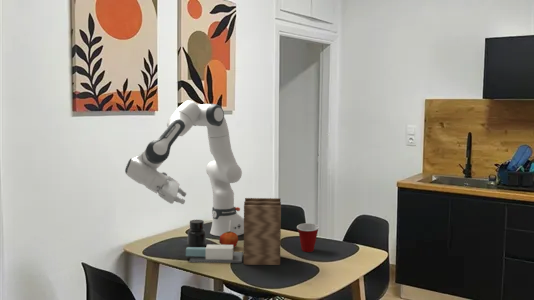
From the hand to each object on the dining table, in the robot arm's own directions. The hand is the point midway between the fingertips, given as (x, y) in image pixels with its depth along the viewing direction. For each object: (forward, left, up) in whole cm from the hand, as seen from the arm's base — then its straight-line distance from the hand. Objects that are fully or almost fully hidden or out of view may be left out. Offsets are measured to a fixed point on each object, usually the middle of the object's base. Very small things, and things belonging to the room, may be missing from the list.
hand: (185, 198), depth 231 cm
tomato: (-23, +2, -27) cm, 35 cm away
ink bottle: (-13, -11, -27) cm, 32 cm away
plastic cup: (-50, +29, -27) cm, 64 cm away
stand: (-24, +26, -27) cm, 44 cm away
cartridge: (-6, +11, -26) cm, 29 cm away
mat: (-10, +12, -27) cm, 31 cm away
